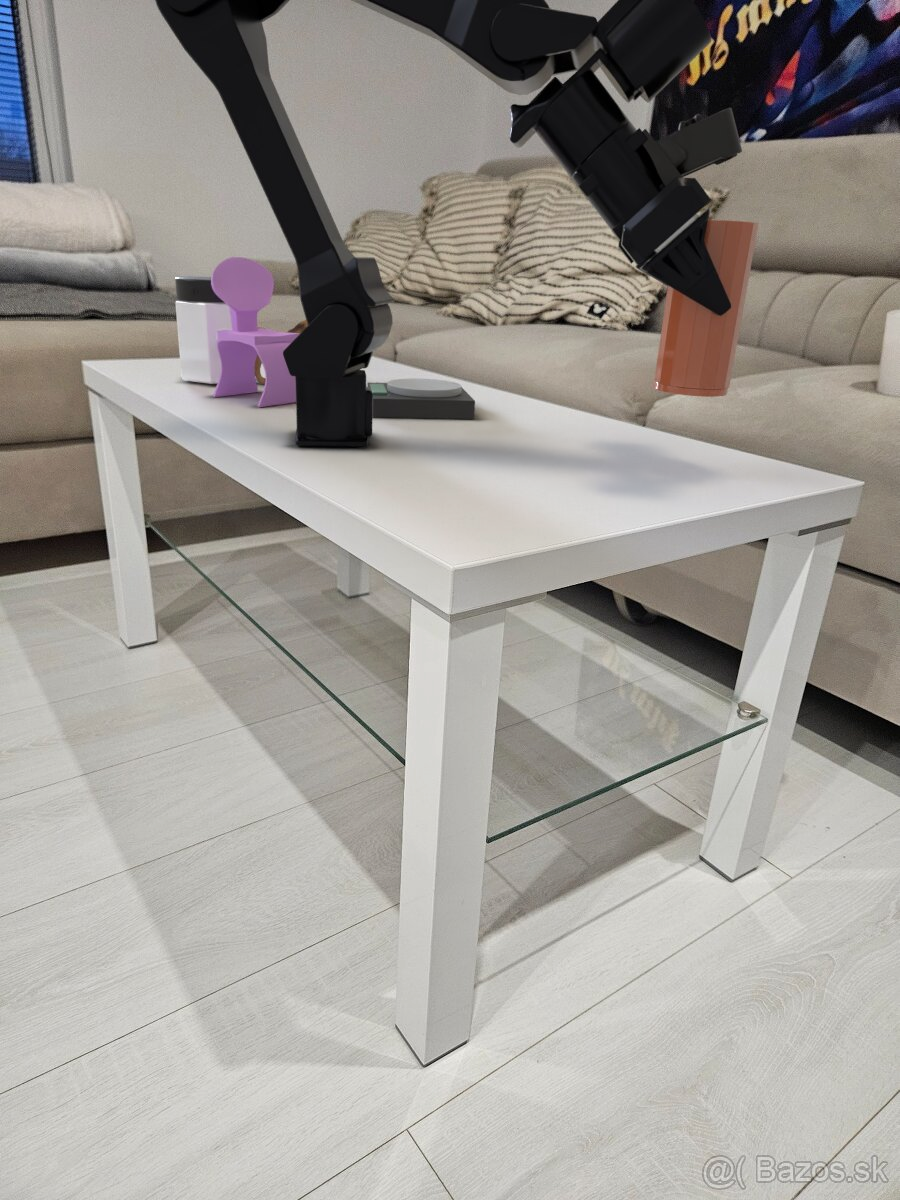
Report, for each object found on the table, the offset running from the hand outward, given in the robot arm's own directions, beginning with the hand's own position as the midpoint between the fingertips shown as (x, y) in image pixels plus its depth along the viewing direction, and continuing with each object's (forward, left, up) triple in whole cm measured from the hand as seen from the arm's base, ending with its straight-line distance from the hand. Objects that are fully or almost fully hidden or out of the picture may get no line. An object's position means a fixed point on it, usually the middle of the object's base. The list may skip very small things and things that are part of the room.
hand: (720, 309), depth 67 cm
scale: (-21, +27, -13) cm, 37 cm away
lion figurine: (-37, +45, -14) cm, 59 cm away
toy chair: (-39, +31, -14) cm, 52 cm away
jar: (-46, +44, -13) cm, 65 cm away
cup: (-1, 0, -7) cm, 7 cm away
